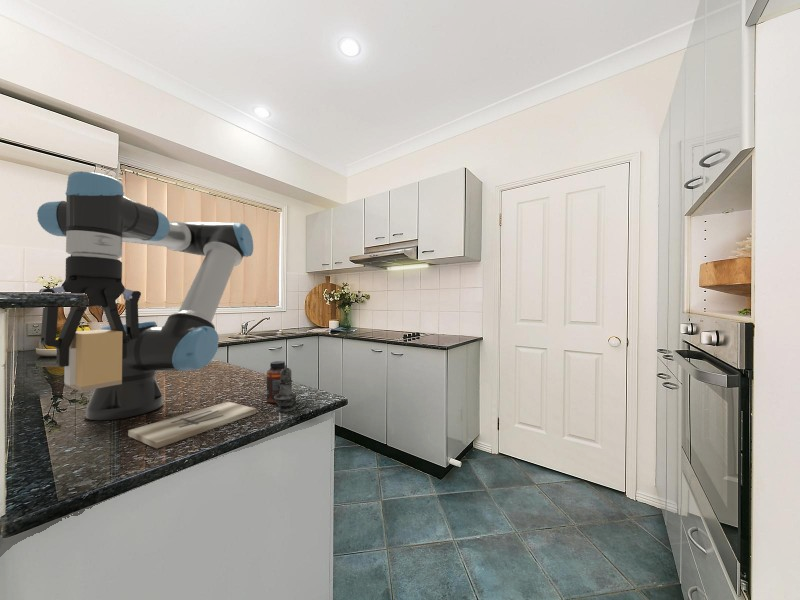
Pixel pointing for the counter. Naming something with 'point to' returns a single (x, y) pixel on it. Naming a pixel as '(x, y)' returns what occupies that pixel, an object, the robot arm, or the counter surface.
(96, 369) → the block
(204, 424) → the birch board
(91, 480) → the counter surface
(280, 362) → the supplement bottle
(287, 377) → the grey chess piece
